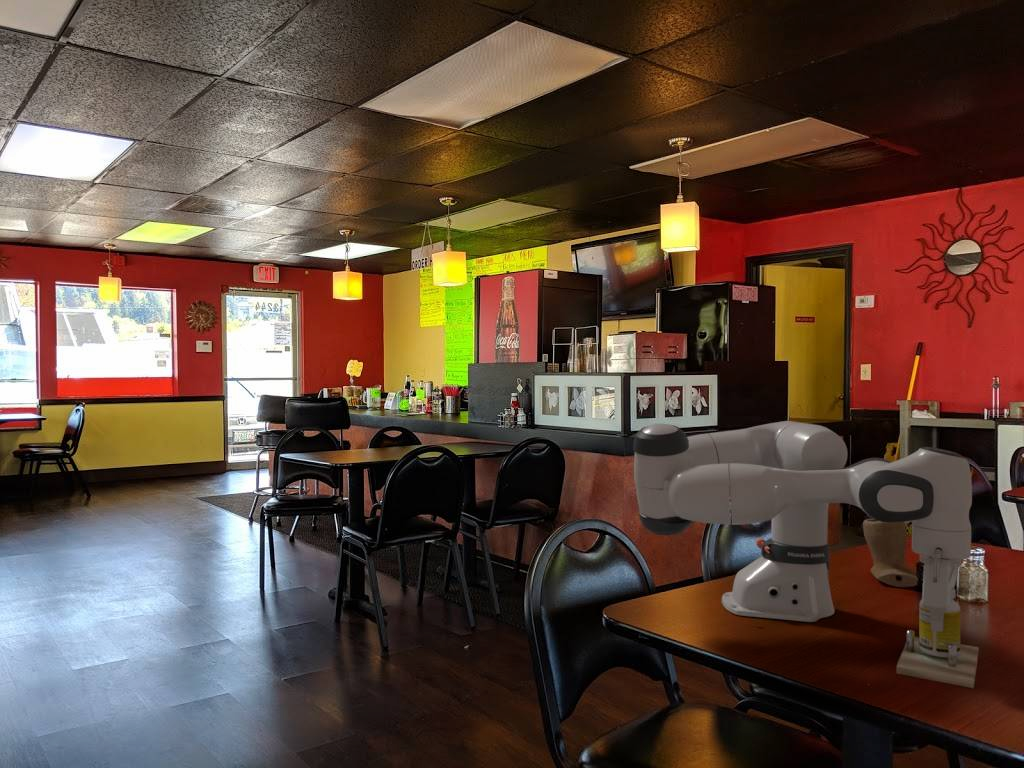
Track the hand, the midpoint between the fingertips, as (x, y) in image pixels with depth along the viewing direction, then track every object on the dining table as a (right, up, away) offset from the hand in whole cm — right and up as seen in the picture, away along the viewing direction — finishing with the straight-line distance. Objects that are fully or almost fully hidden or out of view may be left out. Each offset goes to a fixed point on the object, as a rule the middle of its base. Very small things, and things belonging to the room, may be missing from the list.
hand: (939, 623), depth 134 cm
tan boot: (+17, -6, +54) cm, 57 cm away
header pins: (-1, -6, +1) cm, 6 cm away
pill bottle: (0, -5, 0) cm, 5 cm away
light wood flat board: (0, -7, 0) cm, 7 cm away
